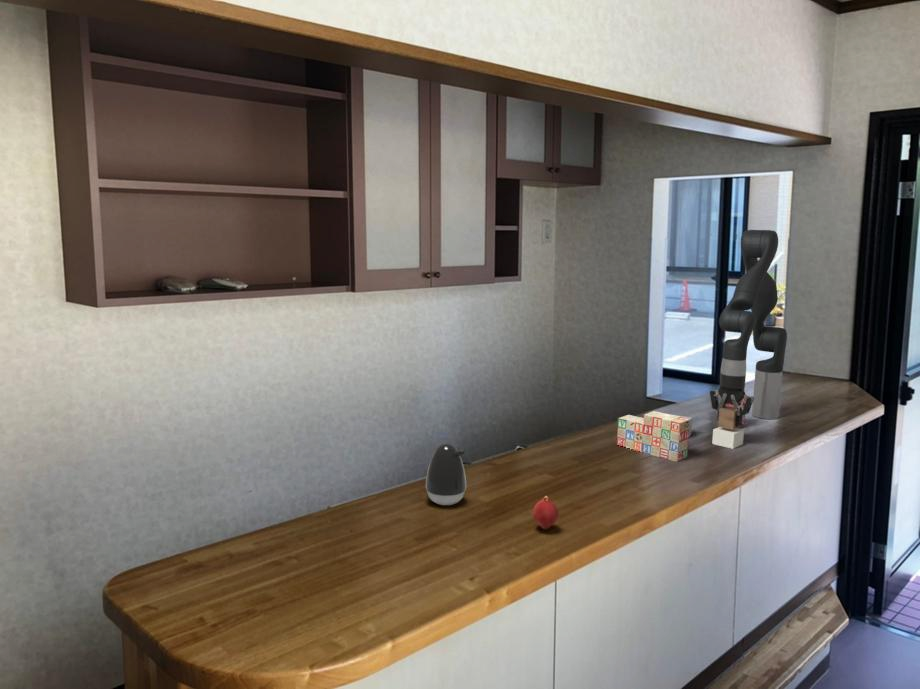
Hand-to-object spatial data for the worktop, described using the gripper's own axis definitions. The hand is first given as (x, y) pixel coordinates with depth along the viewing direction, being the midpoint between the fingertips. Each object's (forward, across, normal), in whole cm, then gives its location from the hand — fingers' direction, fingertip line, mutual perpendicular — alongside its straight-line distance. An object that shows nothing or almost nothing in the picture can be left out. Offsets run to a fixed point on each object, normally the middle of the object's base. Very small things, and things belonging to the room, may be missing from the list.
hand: (729, 424), depth 242 cm
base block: (+7, 0, 0) cm, 7 cm away
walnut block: (+1, 0, 0) cm, 1 cm away
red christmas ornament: (+7, 0, +96) cm, 97 cm away
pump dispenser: (+7, +27, +101) cm, 105 cm away
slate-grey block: (+7, +15, +2) cm, 17 cm away
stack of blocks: (+7, +13, +25) cm, 29 cm away
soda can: (+7, +8, -22) cm, 24 cm away
